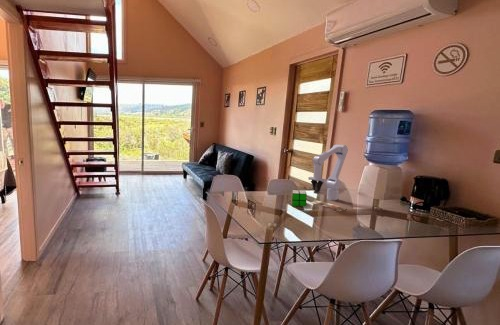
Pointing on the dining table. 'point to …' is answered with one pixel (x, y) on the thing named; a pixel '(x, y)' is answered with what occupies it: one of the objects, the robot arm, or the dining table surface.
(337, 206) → the board
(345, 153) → the robot arm
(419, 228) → the dining table surface
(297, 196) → the puzzle cube
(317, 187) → the pawn
